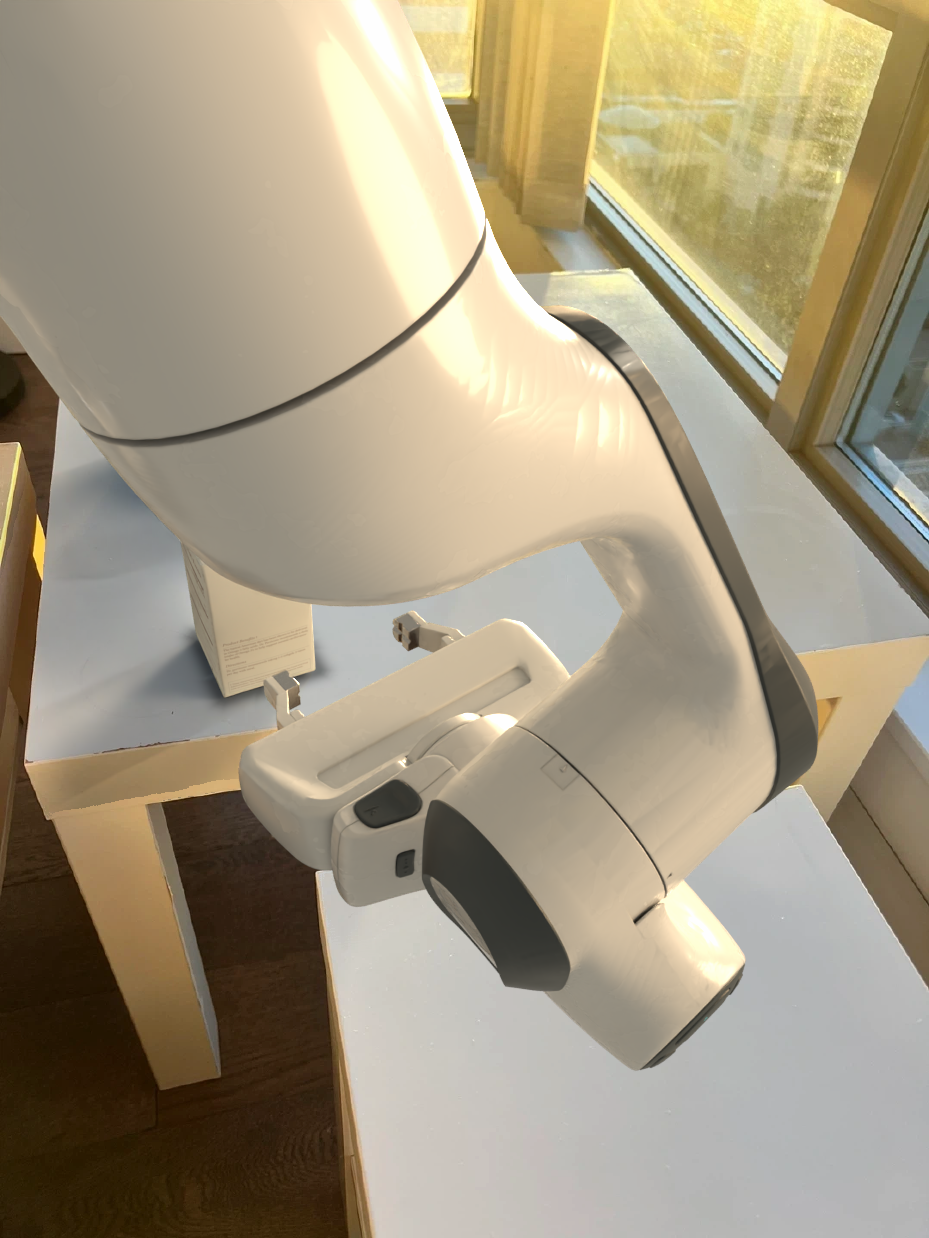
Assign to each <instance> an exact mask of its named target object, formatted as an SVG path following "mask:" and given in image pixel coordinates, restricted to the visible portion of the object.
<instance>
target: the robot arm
mask: <svg viewBox="0 0 929 1238" xmlns="http://www.w3.org/2000/svg"><path fill="white" fill-rule="evenodd" d="M0 318H1V319H2V320H3V322H4V323H5V324H6V325H7V327H8V328H9V329H10V331H11V332H12V333H13V335H14V337H15V338H16V339H17V340H18V342H19V343H20V345H21V346H22V348H23V349H24V351H25V353H26V354H27V355H28V356H29V358H30V359H31V361H32V362H33V363H34V365H35V366H36V368H37V369H38V370H39V372H40V373H41V374H42V376H43V377H44V379H45V380H46V381H47V383H48V384H49V386H50V387H51V388H52V390H53V391H54V392H55V394H56V395H57V397H58V398H59V399H60V400H61V402H62V403H63V405H64V406H65V408H66V409H67V410H68V412H69V413H70V415H71V416H72V417H73V418H74V420H75V421H77V423H78V424H79V426H80V428H81V429H82V430H83V431H84V433H85V434H86V435H87V437H88V438H89V439H90V441H91V442H92V443H93V444H94V445H95V447H96V448H97V449H98V451H99V452H100V453H101V455H102V456H103V457H104V458H105V459H106V460H107V462H108V463H109V464H110V465H111V467H112V468H113V469H114V470H115V472H117V475H119V476H120V477H121V479H122V480H123V482H125V483H126V484H127V486H128V487H129V488H130V489H131V490H132V491H133V493H134V494H135V495H136V496H137V497H138V498H139V499H140V500H141V501H142V502H143V504H144V505H145V506H146V507H147V508H148V509H149V510H150V511H151V512H152V514H153V515H154V516H155V517H156V518H157V519H158V520H159V521H160V522H161V523H162V524H163V525H164V526H165V527H166V529H168V530H169V531H170V532H171V533H172V534H173V535H174V536H175V537H176V538H177V539H178V540H179V542H180V541H181V542H182V543H183V544H185V545H186V546H187V547H188V548H189V549H190V550H191V551H192V552H193V553H194V554H195V555H196V556H197V557H198V558H199V559H201V560H202V561H203V562H204V563H205V564H206V565H207V566H208V567H209V568H211V569H212V570H213V571H215V572H216V573H218V574H219V575H221V576H223V577H225V578H226V579H228V580H230V581H232V582H235V583H237V584H239V585H242V586H244V587H247V588H249V589H252V590H255V591H257V592H260V593H263V594H266V595H269V596H273V597H277V598H281V599H285V600H290V601H295V602H300V603H306V604H311V605H313V606H322V607H323V606H324V607H325V606H326V607H344V608H345V607H348V608H350V607H352V608H353V607H377V606H389V605H397V604H402V603H408V602H413V601H419V600H422V599H427V598H431V597H435V596H439V595H442V594H445V593H448V592H451V591H454V590H457V589H460V588H463V587H464V586H466V585H469V584H471V583H474V582H475V581H477V580H480V579H481V578H484V577H486V576H489V575H491V574H492V573H495V572H496V571H499V570H500V569H503V568H505V567H507V566H510V565H512V564H515V563H517V562H519V561H521V560H525V559H528V558H530V557H532V556H535V555H538V554H540V553H543V552H546V551H549V550H552V549H556V548H559V547H563V546H566V545H568V544H572V543H573V544H574V543H578V542H580V544H581V546H582V547H583V550H584V551H585V552H586V554H587V555H588V557H589V558H590V560H591V561H592V563H593V565H594V566H595V568H596V570H597V571H598V573H599V574H600V576H601V577H602V579H603V581H604V582H605V584H606V585H607V587H608V588H609V590H610V592H611V594H612V595H613V597H614V598H615V600H616V601H617V603H618V604H619V607H620V608H621V610H622V612H621V615H620V617H619V618H618V621H617V623H616V625H615V626H614V628H613V630H612V632H611V633H610V635H609V636H608V638H607V639H606V640H605V641H604V643H603V644H602V645H601V646H600V647H599V649H598V650H596V652H595V653H594V654H593V655H592V656H591V657H590V658H589V659H588V660H587V661H586V662H585V663H583V665H581V666H580V667H579V668H578V669H577V670H576V671H574V672H573V673H572V674H571V675H570V673H569V672H568V670H567V669H566V667H565V666H564V665H563V663H562V662H561V661H560V660H559V658H558V657H557V656H556V655H555V653H554V652H553V651H552V650H551V649H550V648H549V647H548V645H547V644H546V643H545V642H544V641H543V640H542V639H541V638H540V637H539V636H538V635H537V634H536V633H535V632H534V631H533V630H532V629H531V628H530V627H529V626H528V625H527V624H525V623H524V622H522V621H518V620H515V619H510V618H500V619H497V620H495V621H494V622H491V623H490V624H488V625H486V626H484V627H481V628H480V629H477V630H475V631H473V632H472V633H470V634H468V635H464V633H462V632H461V631H460V630H459V629H457V628H453V627H449V626H445V625H441V624H437V623H435V622H434V623H433V622H427V620H424V619H423V617H421V616H420V615H419V614H418V613H417V612H416V611H415V610H410V611H408V612H405V613H403V614H402V615H399V616H397V617H395V618H393V620H392V625H393V627H392V635H393V637H394V639H395V641H397V642H398V643H400V644H401V646H402V647H403V648H404V649H405V650H406V651H407V652H410V651H412V650H414V649H422V650H424V651H428V652H430V654H428V655H426V656H423V657H421V658H420V659H418V660H415V661H414V662H412V663H410V664H408V665H406V666H404V667H402V668H400V669H398V670H396V671H394V672H392V673H390V674H388V675H386V676H383V677H382V678H380V679H377V680H376V681H373V682H372V683H370V684H368V685H365V686H364V687H362V688H360V689H358V690H356V691H354V692H352V693H350V694H348V695H346V696H344V697H341V698H340V699H338V700H336V701H334V702H332V703H330V704H328V705H326V706H324V707H322V708H320V709H318V710H315V711H313V712H312V713H310V714H308V715H306V716H305V715H304V714H303V713H302V712H301V711H300V710H299V709H294V708H297V707H298V706H301V704H302V703H301V696H300V695H299V694H300V692H301V690H300V689H301V688H300V683H299V682H298V681H297V680H296V679H295V678H294V677H290V674H289V672H288V671H287V670H284V671H282V672H279V673H277V674H275V675H273V676H270V677H268V678H266V679H264V680H263V685H264V686H263V691H264V692H263V693H264V696H265V698H266V701H268V703H269V704H270V705H271V706H272V707H273V708H274V710H275V714H276V715H275V717H276V729H277V730H276V731H274V732H272V733H269V734H268V735H266V736H264V737H261V738H259V739H258V740H256V741H254V742H251V743H250V744H248V745H246V746H245V747H244V748H243V749H242V751H241V753H240V758H239V762H238V771H237V773H238V781H239V782H238V783H239V788H240V791H241V795H242V798H243V801H244V803H245V805H246V806H247V807H248V809H249V810H250V811H251V812H252V814H253V815H254V816H255V818H256V819H257V820H258V821H259V823H260V824H261V825H263V827H264V828H265V829H266V830H267V831H268V833H269V834H270V835H271V836H272V837H273V838H274V839H275V840H276V841H277V842H278V843H279V844H280V845H281V846H282V847H283V848H284V849H285V850H286V851H287V852H289V853H290V855H291V856H293V857H294V858H295V859H296V860H298V861H299V862H300V863H302V864H304V865H305V866H307V867H309V868H311V869H315V870H318V871H324V872H325V871H326V872H328V871H329V872H330V871H331V872H332V876H333V879H334V880H333V881H334V883H335V888H336V890H337V892H338V894H339V896H340V897H341V899H342V900H343V901H344V902H345V903H346V904H347V905H349V906H351V907H353V908H361V907H367V906H371V905H373V904H377V903H381V902H384V901H388V900H390V899H394V898H397V897H401V896H405V895H409V894H412V893H417V892H421V891H426V892H427V894H428V896H429V897H430V898H431V900H432V901H433V903H434V904H435V905H436V906H437V908H438V909H439V910H440V911H441V912H442V913H443V915H445V916H446V917H447V918H448V919H449V920H450V921H451V922H452V923H453V924H454V925H455V926H456V927H457V928H458V929H459V930H460V931H461V932H462V933H463V934H464V935H465V936H466V937H467V938H468V939H469V940H470V942H471V943H472V944H473V945H474V946H475V947H476V948H477V950H478V951H479V952H480V953H481V954H482V956H483V957H484V958H485V959H486V960H487V961H488V963H489V964H490V965H491V966H492V967H493V969H494V970H495V971H496V972H497V973H498V975H499V978H500V980H501V982H502V984H503V986H504V987H506V988H513V989H519V990H527V991H535V992H543V994H545V995H546V996H547V997H548V998H549V999H550V1001H552V1003H554V1004H555V1005H556V1006H557V1007H558V1008H559V1009H560V1010H561V1011H562V1012H563V1013H564V1014H565V1015H566V1016H567V1017H568V1018H569V1019H570V1020H571V1021H572V1022H573V1023H574V1024H576V1025H577V1026H578V1027H579V1028H580V1029H581V1030H583V1031H584V1032H585V1034H586V1035H588V1036H589V1037H590V1038H591V1039H592V1040H594V1041H595V1043H597V1044H598V1045H599V1046H600V1047H601V1048H602V1049H604V1050H605V1051H607V1053H609V1054H610V1055H611V1056H613V1057H614V1058H615V1059H616V1060H617V1061H618V1062H620V1063H621V1064H623V1065H624V1066H625V1067H627V1068H629V1069H630V1070H632V1071H633V1072H638V1071H643V1070H646V1069H652V1068H655V1067H658V1066H659V1065H661V1064H662V1063H663V1062H665V1061H667V1060H668V1059H669V1058H671V1057H672V1056H673V1054H675V1053H676V1051H677V1050H678V1048H679V1047H681V1045H683V1044H684V1043H685V1042H687V1041H688V1040H689V1039H690V1038H691V1037H692V1036H693V1035H694V1034H695V1033H696V1032H697V1031H698V1030H699V1029H700V1028H701V1027H702V1026H703V1025H704V1024H705V1023H706V1022H707V1021H708V1020H709V1019H710V1018H711V1017H712V1015H713V1014H715V1012H716V1011H717V1010H718V1009H719V1008H720V1007H721V1006H723V1004H724V1003H725V1002H726V1000H727V998H728V997H729V996H731V995H732V994H733V993H734V992H735V990H736V988H737V987H738V986H739V985H740V982H741V981H742V978H743V976H744V974H743V972H744V970H745V966H746V962H747V960H746V956H745V953H744V951H742V949H741V948H740V946H739V944H738V943H737V942H736V941H735V939H734V938H733V936H732V935H731V934H730V933H729V931H728V930H727V928H726V927H725V926H724V925H723V924H722V923H721V921H720V919H718V917H716V915H715V914H714V913H713V912H712V910H711V909H709V907H708V906H707V904H705V902H703V900H702V899H701V898H700V897H699V895H698V894H697V893H696V891H694V890H693V888H692V887H691V885H690V886H689V884H688V883H687V882H686V881H685V879H686V878H688V877H689V876H690V874H692V873H693V872H695V870H696V869H697V868H698V867H699V866H700V865H701V864H702V863H703V862H704V861H705V860H706V859H707V858H708V857H709V856H710V855H711V854H712V853H713V852H715V850H717V848H718V847H719V846H721V845H722V844H723V842H725V840H726V839H727V838H729V837H730V836H731V835H732V834H733V833H734V832H735V831H736V830H737V829H738V828H739V827H741V825H742V824H743V823H744V822H745V821H746V820H747V819H749V817H750V816H751V815H752V814H754V813H757V812H758V811H760V810H761V809H763V808H765V806H767V805H768V804H769V803H770V802H772V801H773V800H774V799H775V798H776V797H778V796H779V795H780V794H782V792H784V791H786V789H788V788H789V787H790V786H791V785H793V784H794V783H795V782H796V781H797V780H798V779H800V778H801V777H802V776H803V775H804V774H806V773H807V772H809V770H810V769H811V768H812V766H813V765H814V763H815V761H816V758H817V754H818V746H819V711H818V702H817V697H816V692H815V690H814V685H813V682H812V680H811V678H810V676H809V674H808V672H807V670H806V668H805V667H804V665H803V663H802V662H801V660H800V659H799V657H798V656H797V654H796V653H795V652H794V650H793V649H792V648H791V646H790V645H789V643H788V642H787V640H786V639H785V637H784V636H783V635H782V633H781V632H780V631H779V629H778V628H777V627H776V625H775V624H774V622H773V621H772V620H771V619H770V617H769V616H768V613H767V612H766V609H765V607H764V606H763V603H762V601H761V598H760V596H759V594H758V592H757V589H756V587H755V585H754V582H753V580H752V577H751V576H750V573H749V571H748V569H747V567H746V564H745V562H744V560H743V557H742V555H741V553H740V551H739V548H738V546H737V544H736V542H735V538H734V537H733V535H732V533H731V530H730V528H729V526H728V523H727V521H726V519H725V516H724V514H723V512H722V509H721V508H720V505H719V502H718V500H717V499H716V496H715V494H714V491H713V489H712V487H711V485H710V482H709V480H708V478H707V475H706V474H705V471H704V469H703V466H702V464H701V463H700V460H699V458H698V456H697V454H696V452H695V450H694V448H693V446H692V444H691V442H690V439H689V437H688V436H687V434H686V433H687V432H686V431H685V429H684V428H683V426H682V423H681V421H680V419H679V418H678V416H677V414H676V412H675V410H674V409H673V406H672V405H671V403H670V401H669V400H668V398H667V396H666V394H665V393H664V391H663V389H662V388H661V386H660V384H659V383H658V381H657V380H656V378H655V376H654V375H653V373H651V371H650V369H649V368H648V366H647V365H646V364H645V363H644V361H643V360H642V358H640V357H639V355H638V354H637V353H636V352H635V350H634V349H633V348H632V347H631V345H629V343H628V342H627V341H626V340H625V339H623V338H622V337H621V336H620V335H619V334H618V333H617V332H616V331H615V330H614V329H612V327H610V326H608V325H607V324H606V323H605V322H603V321H602V320H600V319H599V318H598V317H596V316H593V315H591V314H589V313H588V312H585V311H583V310H581V309H578V308H574V307H571V306H567V305H563V304H561V305H560V304H554V305H538V304H537V303H536V301H534V299H533V298H532V297H531V296H530V295H529V294H528V292H527V291H526V290H525V289H524V287H523V286H522V285H521V284H520V282H519V281H518V280H517V278H516V276H515V275H514V274H513V272H512V270H511V269H510V267H509V265H508V264H507V261H506V259H505V258H504V256H503V254H502V252H501V250H500V248H499V245H498V243H497V241H496V239H495V237H494V234H493V231H492V229H491V226H490V223H489V221H488V218H487V216H486V214H485V210H484V207H483V204H482V201H481V198H480V195H479V193H478V190H477V188H476V185H475V182H474V179H473V177H472V174H471V171H470V168H469V166H468V163H467V160H466V157H465V155H464V152H463V149H462V147H461V144H460V141H459V138H458V135H457V133H456V130H455V127H454V125H453V123H452V119H451V118H450V116H449V113H448V111H447V108H446V106H445V104H444V101H443V99H442V97H441V94H440V92H439V89H438V86H437V84H436V82H435V80H434V77H433V74H432V72H431V70H430V67H429V64H428V63H427V60H426V58H425V55H424V53H423V51H422V48H421V46H420V44H419V42H418V40H417V38H416V35H415V32H413V29H412V27H411V25H410V23H409V20H408V18H407V16H406V14H405V12H404V9H403V7H402V6H401V3H400V0H0Z"/></svg>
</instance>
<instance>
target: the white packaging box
mask: <svg viewBox="0 0 929 1238" xmlns="http://www.w3.org/2000/svg"><path fill="white" fill-rule="evenodd" d="M179 542H180V548H181V553H182V554H181V555H182V560H183V563H184V569H185V576H186V581H187V588H188V594H189V600H190V606H191V613H192V619H193V624H194V631H195V636H196V638H197V639H198V642H199V644H200V646H201V649H202V651H203V653H204V655H205V657H206V659H207V662H208V665H209V667H210V669H211V671H212V673H213V676H214V679H215V681H216V683H217V685H218V688H219V689H220V692H221V695H222V696H223V698H228V697H231V696H234V695H237V694H241V693H244V692H247V691H250V690H251V691H252V690H254V689H257V688H260V687H264V685H263V680H264V679H266V678H268V677H270V676H273V675H275V674H277V673H279V672H282V671H284V670H287V671H288V672H289V674H290V677H293V678H294V677H297V676H301V675H304V674H307V673H311V672H314V671H315V670H316V658H315V657H316V656H315V641H314V627H313V610H312V608H313V607H312V604H306V603H300V602H295V601H290V600H285V599H281V598H277V597H273V596H269V595H266V594H263V593H260V592H257V591H255V590H252V589H249V588H247V587H244V586H242V585H239V584H237V583H235V582H232V581H230V580H228V579H226V578H225V577H223V576H221V575H219V574H218V573H216V572H215V571H213V570H212V569H211V568H209V567H208V566H207V565H206V564H205V563H204V562H203V561H202V560H201V559H199V558H198V557H197V556H196V555H195V554H194V553H193V552H192V551H191V550H190V549H189V548H188V547H187V546H186V545H185V544H183V543H182V542H181V541H180V540H179Z"/></svg>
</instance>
